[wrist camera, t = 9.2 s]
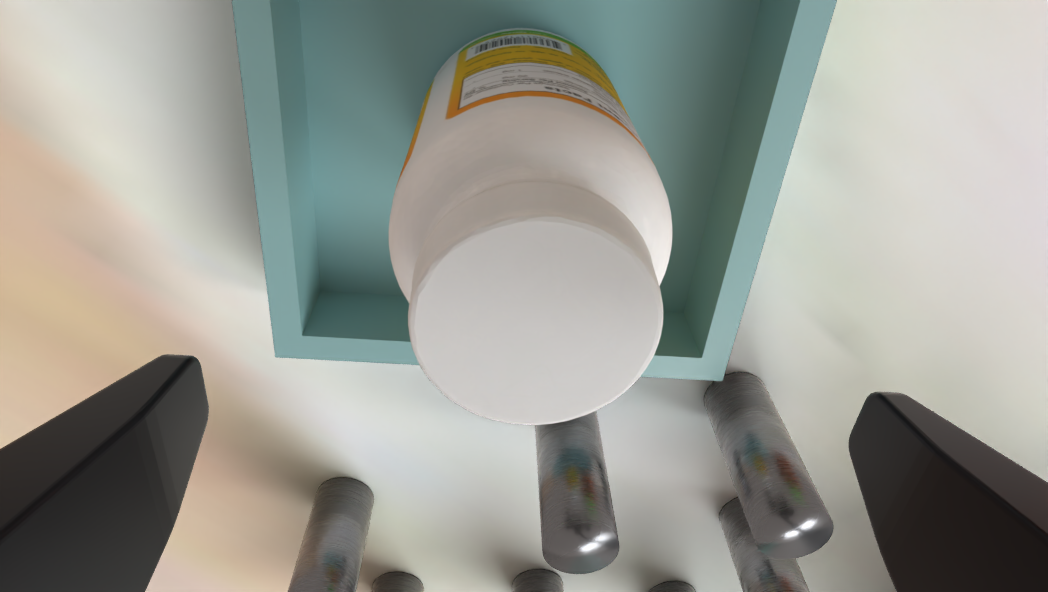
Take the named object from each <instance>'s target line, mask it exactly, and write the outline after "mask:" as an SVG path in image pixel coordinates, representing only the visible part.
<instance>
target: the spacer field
mask: <svg viewBox="0 0 1048 592" xmlns="http://www.w3.org/2000/svg"><path fill="white" fill-rule="evenodd" d="M704 405H705V408H706V411H707V413H708V416H709V419H710V421H711V424H712V427H713V429H714V432H715V435H716V438H717V440H718V443H719V446H720V448H721V451H722V454H723V456H724V459H725V462H726V465H727V467H728V470H729V473H730V475H731V478H732V481H733V483H734V486H735V489H736V491H737V494H738V498H735V499H733V500H732V501H730V502H728V503H727V504H726V505H725V506H724V507H723V508H722V510H721V512H720V515H719V519H720V523H721V526H722V529H723V532H724V535H725V538H726V541H727V544H728V547H729V550H730V553H731V556H732V559H733V562H734V565H735V568H736V571H737V574H738V577H739V580H740V583H741V586H742V589H743V592H809V589H808V587H807V585H806V582H805V580H804V578H803V575H802V573H801V570H800V568H799V566H798V563H797V561H796V558H798V557H802V556H805V555H808V554H810V553H813V552H814V551H816V550H818V549H819V548H821V547H822V546H823V545H824V544H825V543H826V542H827V541H828V540H829V539H830V537H831V535H832V532H833V522H832V520H831V518H830V516H829V514H828V512H827V510H826V508H825V506H824V504H823V502H822V500H821V498H820V496H819V494H818V492H817V490H816V488H815V486H814V484H813V482H812V480H811V478H810V476H809V474H808V472H807V470H806V468H805V466H804V464H803V462H802V460H801V458H800V456H799V454H798V452H797V450H796V448H795V446H794V444H793V442H792V440H791V438H790V436H789V434H788V432H787V430H786V428H785V426H784V424H783V422H782V420H781V417H780V415H779V413H778V411H777V409H776V407H775V405H774V403H773V401H772V399H771V397H770V395H769V393H768V391H767V389H766V387H765V385H764V383H763V382H762V381H761V380H760V379H759V378H758V377H756V376H754V375H752V374H749V373H732V374H728V375H725V376H724V377H723V381H715V382H713V383H712V384H711V385H710V387H709V388H708V389H707V391H706V393H705V396H704ZM535 431H536V448H537V465H538V482H539V499H540V516H541V534H542V551H543V556H544V558H545V560H546V562H547V563H548V564H549V565H550V566H552V567H553V568H555V569H557V570H559V571H562V572H565V573H571V574H585V573H591V572H595V571H598V570H600V569H602V568H604V567H606V566H608V565H609V564H610V563H611V562H612V561H613V560H614V559H615V558H616V556H617V554H618V552H619V541H618V535H617V529H616V523H615V517H614V512H613V506H612V500H611V494H610V488H609V482H608V476H607V471H606V465H605V459H604V453H603V447H602V441H601V435H600V430H599V424H598V418H597V412H596V411H594V412H592V413H589V414H587V415H584V416H581V417H578V418H575V419H571V420H568V421H564V422H559V423H553V424H543V425H535ZM373 503H374V496H373V493H372V491H371V490H370V489H369V488H368V486H366V485H365V484H363V483H362V482H360V481H357V480H355V479H351V478H334V479H331V480H328V481H326V482H324V483H323V484H322V485H321V486H320V487H319V489H318V491H317V494H316V497H315V501H314V504H313V507H312V511H311V514H310V518H309V521H308V525H307V528H306V531H305V535H304V538H303V542H302V545H301V548H300V552H299V555H298V559H297V562H296V566H295V569H294V572H293V576H292V579H291V583H290V586H289V590H288V592H356V589H357V584H358V579H359V574H360V569H361V564H362V559H363V554H364V549H365V544H366V539H367V534H368V529H369V524H370V519H371V514H372V509H373ZM372 592H424V587H423V584H422V582H421V581H420V580H419V579H418V578H416V577H415V576H413V575H410V574H407V573H402V572H391V573H387V574H384V575H381V576H380V577H378V578H377V579H376V580H375V581H374V583H373V586H372ZM512 592H564V590H563V582H562V579H561V578H560V577H559V576H558V575H557V574H555V573H554V572H551V571H548V570H542V569H536V570H529V571H526V572H524V573H522V574H520V575H518V576H517V577H516V578H515V580H514V581H513V584H512ZM650 592H696V591H695V589H694V588H693V587H692V586H691V585H689V584H687V583H684V582H677V581H673V582H666V583H662V584H660V585H657V586H656V587H654V588H653V589H651V590H650Z"/></svg>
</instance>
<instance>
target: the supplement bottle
mask: <svg viewBox="0 0 1048 592" xmlns="http://www.w3.org/2000/svg"><path fill="white" fill-rule="evenodd" d="M671 247H672V219H671V211H670V206H669V202H668V197H667V194H666V192H665V189H664V186H663V184H662V181H661V179H660V177H659V174H658V172H657V170H656V167H655V165H654V163H653V162H652V160H651V158H650V156H649V153H648V152H647V151H646V149H645V147H644V145H643V143H642V141H641V139H640V138H639V136H638V134H637V132H636V129H635V127H634V126H633V124H632V122H631V120H630V118H629V116H628V114H627V112H626V110H625V108H624V106H623V104H622V102H621V100H620V98H619V96H618V94H617V92H616V90H615V88H614V86H613V84H612V83H611V81H610V79H609V78H608V76H607V75H606V73H605V72H604V70H603V69H602V67H601V66H600V65H599V63H598V62H597V61H596V60H595V59H594V58H593V57H592V56H591V55H590V54H589V53H588V52H587V51H586V50H584V49H583V48H582V47H580V46H579V45H577V44H576V43H574V42H572V41H570V40H568V39H566V38H564V37H562V36H560V35H557V34H554V33H551V32H548V31H544V30H539V29H531V28H510V29H504V30H499V31H495V32H492V33H488V34H486V35H483V36H481V37H479V38H477V39H475V40H473V41H471V42H469V43H467V44H466V45H464V46H463V47H462V48H460V49H459V50H458V51H457V52H455V53H454V54H453V55H452V56H451V57H450V58H449V59H448V60H447V61H446V62H445V63H444V65H443V66H442V67H441V68H440V70H439V71H438V72H437V74H436V76H435V77H434V79H433V81H432V83H431V85H430V87H429V89H428V91H427V94H426V96H425V99H424V102H423V105H422V108H421V112H420V115H419V118H418V122H417V125H416V128H415V131H414V134H413V137H412V140H411V144H410V147H409V150H408V153H407V156H406V159H405V162H404V165H403V168H402V171H401V174H400V177H399V180H398V183H397V186H396V190H395V193H394V197H393V203H392V208H391V213H390V221H389V250H390V257H391V262H392V266H393V269H394V273H395V276H396V279H397V281H398V284H399V286H400V288H401V290H402V292H403V294H404V295H405V297H406V299H407V300H408V302H409V311H408V328H409V335H410V341H411V345H412V349H413V351H414V353H415V356H416V358H417V360H418V363H419V364H420V366H421V368H422V370H423V371H424V373H425V374H426V376H427V377H428V379H429V380H430V381H431V382H432V383H433V384H434V385H435V386H436V387H437V388H438V389H439V390H440V391H441V392H442V393H443V394H444V395H445V396H446V397H447V398H449V399H450V400H452V401H453V402H454V403H456V404H458V405H459V406H461V407H463V408H465V409H466V410H468V411H470V412H472V413H474V414H476V415H479V416H482V417H485V418H488V419H491V420H495V421H500V422H505V423H511V424H521V425H543V424H553V423H559V422H564V421H568V420H571V419H575V418H578V417H581V416H584V415H587V414H589V413H592V412H594V411H596V410H599V409H601V408H602V407H604V406H606V405H607V404H609V403H611V402H612V401H614V400H616V399H617V398H618V397H619V396H621V395H622V394H623V393H624V392H625V391H627V390H628V389H629V388H630V387H631V386H632V385H633V384H634V383H635V382H636V381H637V380H638V379H639V377H640V376H641V375H642V373H643V372H644V371H645V369H646V368H647V366H648V365H649V363H650V362H651V360H652V358H653V356H654V354H655V352H656V349H657V346H658V344H659V340H660V337H661V332H662V327H663V302H662V296H661V291H660V287H659V286H660V284H661V282H662V279H663V277H664V275H665V272H666V269H667V266H668V262H669V258H670V253H671Z"/></svg>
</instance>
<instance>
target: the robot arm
mask: <svg viewBox="0 0 1048 592" xmlns="http://www.w3.org/2000/svg"><path fill="white" fill-rule="evenodd" d="M208 413H209V406H208V400H207V395H206V389H205V384H204V379H203V374H202V369H201V365H200V362H199V360H198V359H197V358H196V357H194V356H189V355H170V354H167V355H162V356H160V357H158V358H156V359H154V360H152V361H151V362H149V363H147V364H145V365H144V366H142V367H140V368H139V369H137V370H135V371H133V372H132V373H130V374H128V375H127V376H125V377H123V378H121V379H120V380H118V381H116V382H115V383H113V384H111V385H109V386H108V387H106V388H104V389H103V390H101V391H99V392H97V393H96V394H94V395H92V396H91V397H89V398H87V399H85V400H84V401H82V402H80V403H79V404H77V405H75V406H73V407H72V408H70V409H68V410H66V411H65V412H63V413H61V414H60V415H58V416H56V417H54V418H53V419H51V420H49V421H48V422H46V423H44V424H42V425H41V426H39V427H37V428H36V429H34V430H32V431H30V432H29V433H27V434H25V435H24V436H22V437H20V438H18V439H17V440H15V441H13V442H12V443H10V444H8V445H6V446H5V447H3V448H1V449H0V592H145V591H146V588H147V586H148V584H149V582H150V579H151V577H152V575H153V573H154V571H155V568H156V566H157V564H158V562H159V560H160V557H161V555H162V553H163V551H164V548H165V546H166V544H167V542H168V539H169V537H170V534H171V532H172V530H173V527H174V524H175V522H176V519H177V516H178V513H179V510H180V507H181V504H182V500H183V497H184V494H185V491H186V488H187V485H188V481H189V478H190V475H191V472H192V469H193V466H194V462H195V459H196V456H197V453H198V450H199V447H200V443H201V440H202V437H203V434H204V431H205V428H206V424H207V420H208ZM849 452H850V456H851V459H852V463H853V466H854V469H855V473H856V476H857V479H858V482H859V486H860V489H861V492H862V495H863V499H864V502H865V505H866V509H867V512H868V515H869V518H870V522H871V525H872V528H873V531H874V535H875V538H876V541H877V544H878V546H879V549H880V552H881V555H882V557H883V560H884V562H885V565H886V567H887V570H888V572H889V575H890V577H891V579H892V582H893V584H894V586H895V589H896V591H897V592H1048V483H1047V482H1046V481H1044V480H1043V479H1041V478H1039V477H1038V476H1036V475H1035V474H1033V473H1031V472H1030V471H1028V470H1026V469H1025V468H1023V467H1022V466H1020V465H1018V464H1017V463H1015V462H1014V461H1012V460H1010V459H1009V458H1007V457H1005V456H1004V455H1002V454H1001V453H999V452H997V451H996V450H994V449H993V448H991V447H989V446H988V445H986V444H984V443H983V442H981V441H980V440H978V439H976V438H975V437H973V436H971V435H970V434H968V433H967V432H965V431H963V430H962V429H960V428H959V427H957V426H955V425H954V424H952V423H950V422H949V421H947V420H946V419H944V418H942V417H941V416H939V415H938V414H936V413H934V412H933V411H931V410H929V409H928V408H926V407H925V406H923V405H921V404H920V403H918V402H917V401H915V400H913V399H912V398H910V397H908V396H907V395H905V394H902V393H892V392H874V393H872V394H870V395H869V396H868V397H867V399H866V400H865V403H864V405H863V407H862V409H861V412H860V414H859V416H858V418H857V421H856V423H855V425H854V427H853V429H852V432H851V434H850V438H849Z"/></svg>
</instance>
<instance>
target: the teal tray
mask: <svg viewBox="0 0 1048 592" xmlns="http://www.w3.org/2000/svg"><path fill="white" fill-rule="evenodd" d="M836 2H837V0H232V6H233V14H234V22H235V30H236V38H237V47H238V55H239V63H240V71H241V79H242V88H243V96H244V104H245V112H246V120H247V129H248V137H249V145H250V153H251V161H252V170H253V178H254V186H255V194H256V202H257V211H258V219H259V227H260V235H261V243H262V252H263V260H264V268H265V276H266V284H267V293H268V301H269V309H270V317H271V326H272V334H273V342H274V350H275V357H280V358H299V359H318V360H336V361H355V362H374V363H392V364H411V365H420V364H419V363H418V360H417V358H416V356H415V353H414V351H413V349H412V345H411V341H410V335H409V328H408V311H409V302H408V300H407V299H406V297H405V295H404V294H403V292H402V290H401V288H400V286H399V284H398V281H397V279H396V276H395V273H394V269H393V266H392V262H391V257H390V250H389V221H390V213H391V208H392V203H393V197H394V193H395V190H396V186H397V183H398V180H399V177H400V174H401V171H402V168H403V165H404V162H405V159H406V156H407V153H408V150H409V147H410V144H411V140H412V137H413V134H414V131H415V128H416V125H417V122H418V118H419V115H420V112H421V108H422V105H423V102H424V99H425V96H426V94H427V91H428V89H429V87H430V85H431V83H432V81H433V79H434V77H435V76H436V74H437V72H438V71H439V70H440V68H441V67H442V66H443V65H444V63H445V62H446V61H447V60H448V59H449V58H450V57H451V56H452V55H453V54H454V53H455V52H457V51H458V50H459V49H460V48H462V47H463V46H464V45H466V44H467V43H469V42H471V41H473V40H475V39H477V38H479V37H481V36H483V35H486V34H488V33H492V32H495V31H499V30H504V29H510V28H531V29H539V30H544V31H548V32H551V33H554V34H557V35H560V36H562V37H564V38H566V39H568V40H570V41H572V42H574V43H576V44H577V45H579V46H580V47H582V48H583V49H584V50H586V51H587V52H588V53H589V54H590V55H591V56H592V57H593V58H594V59H595V60H596V61H597V62H598V63H599V65H600V66H601V67H602V69H603V70H604V72H605V73H606V75H607V76H608V78H609V79H610V81H611V83H612V84H613V86H614V88H615V90H616V92H617V94H618V96H619V98H620V100H621V102H622V104H623V106H624V108H625V110H626V112H627V114H628V116H629V118H630V120H631V122H632V124H633V126H634V127H635V129H636V132H637V134H638V136H639V138H640V139H641V141H642V143H643V145H644V147H645V149H646V151H647V152H648V153H649V156H650V158H651V160H652V162H653V163H654V165H655V167H656V170H657V172H658V174H659V177H660V179H661V181H662V184H663V186H664V189H665V192H666V194H667V197H668V202H669V206H670V211H671V219H672V247H671V253H670V258H669V262H668V266H667V269H666V272H665V275H664V277H663V279H662V282H661V284H660V286H659V287H660V291H661V296H662V302H663V327H662V332H661V337H660V340H659V344H658V346H657V349H656V352H655V354H654V356H653V358H652V360H651V362H650V363H649V365H648V366H647V368H646V369H645V371H644V372H643V373H642V375H641V376H640V377H653V378H672V379H691V380H709V381H723V377H724V374H725V371H726V367H727V364H728V361H729V357H730V354H731V351H732V347H733V344H734V341H735V337H736V334H737V331H738V327H739V324H740V321H741V317H742V314H743V311H744V308H745V304H746V301H747V298H748V294H749V291H750V288H751V284H752V281H753V278H754V274H755V271H756V268H757V264H758V261H759V258H760V254H761V251H762V248H763V244H764V241H765V238H766V234H767V231H768V228H769V224H770V221H771V218H772V215H773V211H774V208H775V205H776V201H777V198H778V195H779V191H780V188H781V185H782V181H783V178H784V175H785V171H786V168H787V165H788V161H789V158H790V155H791V151H792V148H793V145H794V141H795V138H796V135H797V131H798V128H799V125H800V122H801V118H802V115H803V112H804V108H805V105H806V102H807V98H808V95H809V92H810V88H811V85H812V82H813V78H814V75H815V72H816V68H817V65H818V62H819V58H820V55H821V52H822V48H823V45H824V42H825V38H826V35H827V32H828V29H829V25H830V22H831V19H832V15H833V12H834V9H835V5H836Z"/></svg>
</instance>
